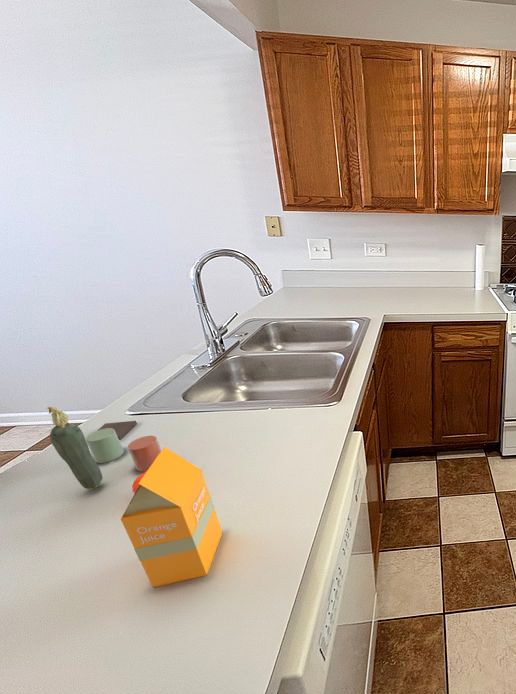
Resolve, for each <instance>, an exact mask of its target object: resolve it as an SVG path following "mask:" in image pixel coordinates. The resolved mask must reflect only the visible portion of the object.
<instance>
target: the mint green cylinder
mask: <svg viewBox="0 0 516 694" xmlns="http://www.w3.org/2000/svg"><path fill="white" fill-rule="evenodd" d="M97 430H98V429H97ZM97 430H96V431H93V432H91V433H89V434H88V435H87V436H86V437H85V440H86V442H87V445H88V448H89V451H90V453H91V455H92V457H93V459H94V461H95V462H96V464H104V463H109V462H113V461H114V460H116V459H119V458H120V457H121V456H122V455H123V454H124V453H125V450H124V448H123V446H122V444H121V441H120V440H119V439H118V436H117V434H116V432H115V430H114V429H113V428H106V429H101V430H98V431H97Z"/></svg>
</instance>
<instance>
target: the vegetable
mask: <svg viewBox="0 0 516 694" xmlns="http://www.w3.org/2000/svg"><path fill="white" fill-rule="evenodd" d="M47 409H48V414H50V415H51V419H52V420H51V421H52V423H53V425H54V427H52V429H51V430H50V433H49V439H50V442H51V444H52V446H53V448H54V449H55V451H56V453H57V454H58V455H59V456H60V458H61V459H62V460H63V461H64V462H65V463H66V464H67V466H68V468H69V469H70V470H71V473H72V474H73V476H74V477H75V479H76V480H77V481H78V483H79V484H80V485H81V486H82V487H83V488H84V489H87V490H95V489H96V488H97V487H98V486H100V485H101V482H102V481H103V474H102V471H101V469H100V467H99V465H98V463H97V462H96V461H95V459H94V457H93V455H92V453H91V451H90V449H89V446H88V444H87V442H86V440H85V438H86V437H85V435H84V432H83V430H82V429H81V427H79V426H78V425H77V424H75V423H74V422H73V423H72V422H69V419H70V418H69V415H67V414H66V413H65V412H63V411H62V410H59V409H58V408H57V407H56V406H47V408H46V410H47Z"/></svg>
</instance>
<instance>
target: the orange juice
mask: <svg viewBox="0 0 516 694" xmlns="http://www.w3.org/2000/svg"><path fill="white" fill-rule="evenodd" d="M138 484H139V486H138V488H137V490H136V492H135V493H133V496H132V497H131V500H130V502H129V503H128V505H127V508H126V509H125V511H124V513H123V514H122V516H121V517H120V521H121V523H122V525H123V527H124V530H125V531H126V534H127V536H128V538H129V539H130V542H131V545H132V547H133V551H134V552H135V554H136V556H137V558H138V560H139V562H140V564H142V567H143V570H144V572H145V574H146V576H147V578H148V580H149V582H150V584H151V587H152V588H156V587H162V586H165V585H171V584H174V583H178V582H183V581H187V580H191V579H197V578H201V577H206V576H207V575H208V573H209V570H210V568H211V566H212V562H213V561H214V557H215V554H216V552H217V548H218V547H219V543H220V541H221V538H222V537H223V530H222V527H221V524H220V521H219V519H218V515H217V512H216V510H215V505H214V503H213V500H212V497H211V495H210V492H209V489H208V486H207V483H206V480H205V478H204V475H203V469H201V468H199V467H198V466H196V465H195V464H193V463H191V462H190V461H188V460H187V459H185V458H183V457H182V456H180V455H179V454H177V453H176V452H173V451H172V450H171V449H168V447H166V446H164V447H162V448H161V452H160V454H159V455H158V456H157V458H156V459H155V461H154V462H153V464H152V465H151V466H150V468H149V469H148V471H147V472H146V474H145V475H144V476H143V478H142V479H141V481H140V482H139V483H138Z"/></svg>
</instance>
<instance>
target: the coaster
mask: <svg viewBox="0 0 516 694" xmlns="http://www.w3.org/2000/svg"><path fill="white" fill-rule="evenodd" d="M136 425H138V423H137V420H127V421H118V422H106V423H104V424H103V425H102V426H100V427H99V428H98V429H96V431H98V430H101V429H106V428H113V429H114V430H115V432H116V434H117V436H118V439H119V441H120V440H122V439H123V438H124V437H125V436H126V435H127V434H128V433H129V432H130V431H132V429H134V427H135V426H136Z"/></svg>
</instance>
